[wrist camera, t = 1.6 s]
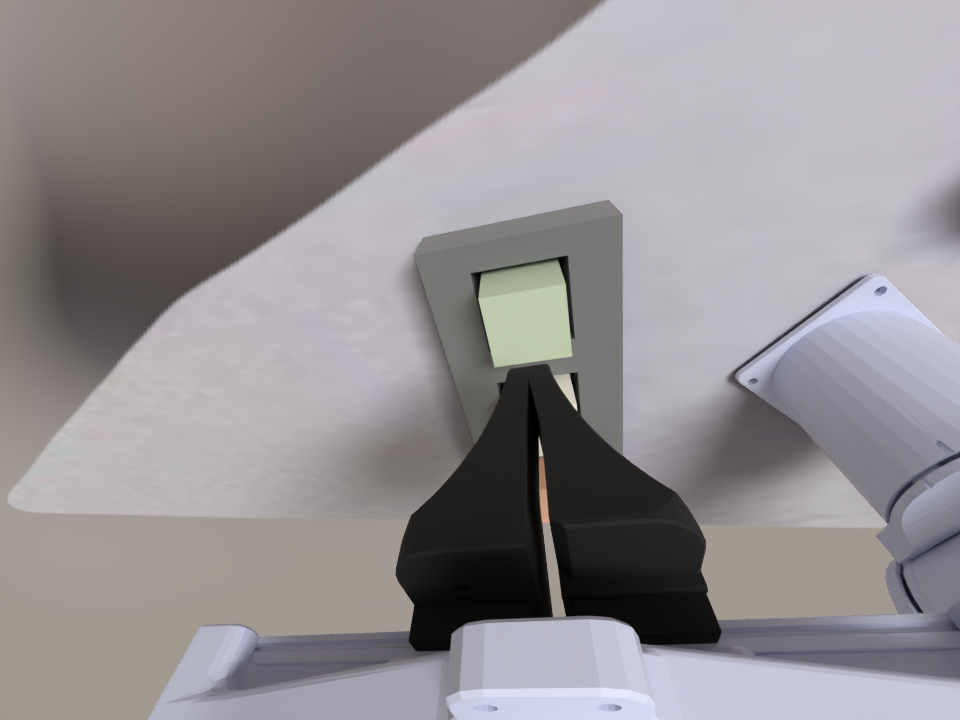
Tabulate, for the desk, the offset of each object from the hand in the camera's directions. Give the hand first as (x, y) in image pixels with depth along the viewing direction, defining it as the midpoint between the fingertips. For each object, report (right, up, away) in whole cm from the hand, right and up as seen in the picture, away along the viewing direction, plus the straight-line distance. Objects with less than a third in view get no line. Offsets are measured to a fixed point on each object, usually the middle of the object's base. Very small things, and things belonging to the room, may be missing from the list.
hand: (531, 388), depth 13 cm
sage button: (0, +4, +6) cm, 7 cm away
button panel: (+2, 0, +11) cm, 11 cm away
